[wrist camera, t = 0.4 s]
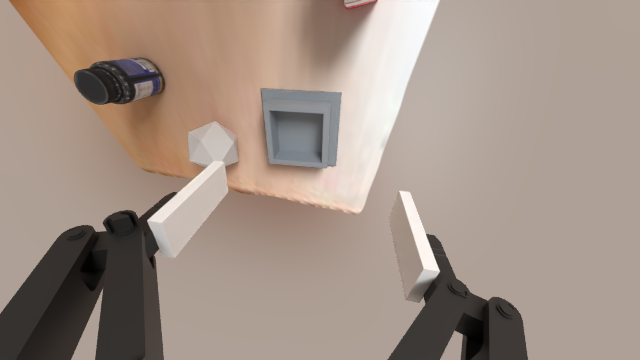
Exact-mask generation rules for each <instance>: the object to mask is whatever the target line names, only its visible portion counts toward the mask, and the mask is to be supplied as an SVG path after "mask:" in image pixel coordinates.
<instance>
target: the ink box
mask: <svg viewBox="0 0 640 360" xmlns="http://www.w3.org/2000/svg"><path fill="white" fill-rule="evenodd" d="M374 1H377V0H344V4H345V8H346V9H350V8H353V7H358V6H361V5H365V4H368V3H371V2H374Z"/></svg>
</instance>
